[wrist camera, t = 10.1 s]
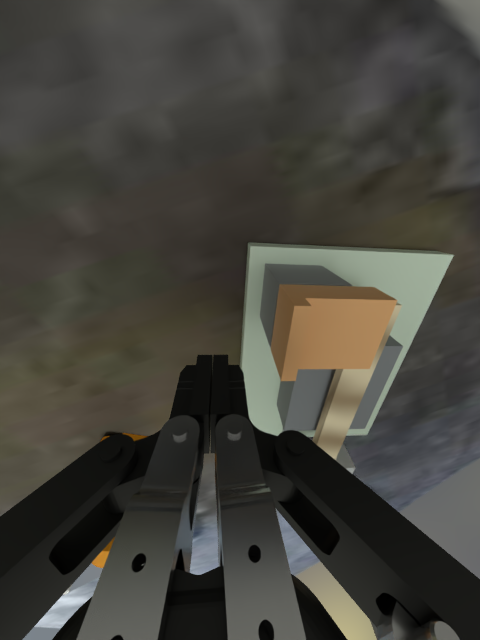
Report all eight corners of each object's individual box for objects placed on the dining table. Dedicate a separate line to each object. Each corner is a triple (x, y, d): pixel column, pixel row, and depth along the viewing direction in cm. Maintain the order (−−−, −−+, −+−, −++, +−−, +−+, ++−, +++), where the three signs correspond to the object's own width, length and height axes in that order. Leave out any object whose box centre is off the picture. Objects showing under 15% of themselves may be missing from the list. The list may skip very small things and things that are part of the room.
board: (360, 423, 36) (396, 481, 29) (235, 426, 34) (239, 489, 27) (436, 250, 24) (535, 273, 16) (248, 242, 22) (261, 263, 15)
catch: (352, 349, 19) (379, 380, 16) (270, 349, 18) (280, 381, 15) (374, 286, 16) (412, 308, 13) (279, 284, 16) (294, 305, 13)
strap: (326, 460, 29) (331, 473, 28) (304, 461, 29) (308, 474, 28) (391, 298, 19) (404, 307, 17) (356, 298, 18) (367, 306, 17)
